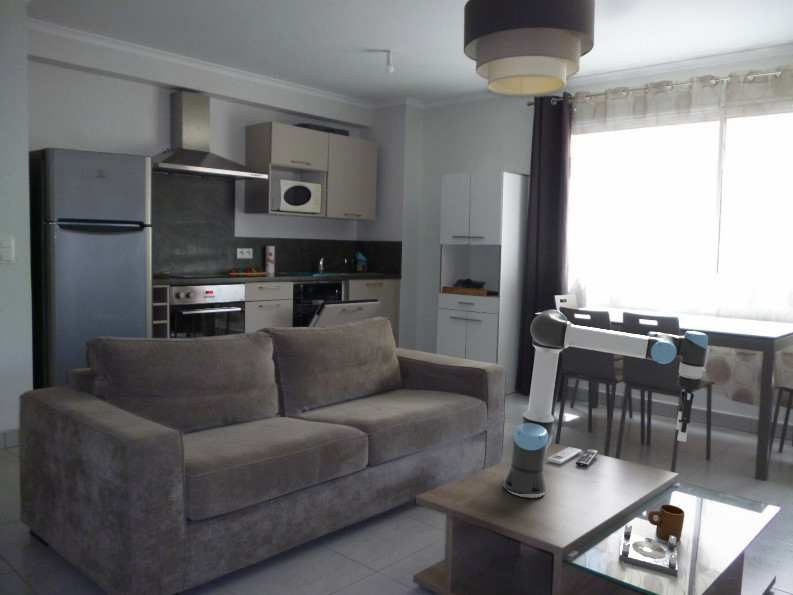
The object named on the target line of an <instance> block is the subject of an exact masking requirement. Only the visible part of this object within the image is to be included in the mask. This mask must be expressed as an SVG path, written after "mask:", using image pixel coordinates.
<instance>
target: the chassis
mask: <svg viewBox="0 0 793 595" xmlns="http://www.w3.org/2000/svg"><path fill="white" fill-rule="evenodd" d="M632 530H633V526H632V525H631V524H627V523H626V524H625V526H624V531H622V535H621V539H620V540H621V542H620V547H619V548H620V549H619V557H618V561H619V560H621V561H624V562H623V563H625V562H626V564H629V565H633V566H636V567H641V568H644V569H647V570H651V571H656V572H659V573H663V574H666V575H669V576H674V577H677V576H678V568H679V566H678V546H677V545H676V537H675V536H672V535H670V536H669V541H667V542H665V541H662V540H658V539H654V538H649V537H645V536H641V535H637V534H635V533H634V534H633V533H632ZM621 561H620V562H621Z"/></svg>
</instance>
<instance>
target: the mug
mask: <svg viewBox="0 0 793 595" xmlns="http://www.w3.org/2000/svg"><path fill="white" fill-rule="evenodd" d="M654 516H657V519H654ZM647 519H648V522H649V523H650V525H652V526H656V528H655V534H656V536H657V537H659V539H662V540H664V541H667V542H669V536H670V535H672V536H675V537H676V542H680V540H681V538H682V533H683V532H682V531H683V526H684V521H685V511H684V510H683V509H682V508H680V507H678V506H675V505H672V504H661V505H660V506H659V510H657V509H653V510H650V512H648V514H647Z"/></svg>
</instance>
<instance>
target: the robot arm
mask: <svg viewBox="0 0 793 595" xmlns="http://www.w3.org/2000/svg"><path fill="white" fill-rule="evenodd" d="M529 330H530V335H531V337H532V343H531V344H532V346H533V347H534V349H535V351H534V359H533V360H534V361H533V368H532V376H531V384H530V392H529V399H528V408H527V410H526V411H525V412H523V413H522V423H521V424H519V425H517V426H516V427H515V430H514V433H513V443H512V444H513V445H512V450H511V451H512V452H511V461H510V466H509V469H508V470H507V472H506V475H505V477H504V479H503V485H502V487H503V486H504V487H503V489H504V488H505V489H506V490H508V491H511V492H514V493H518V494H540V493H543V492H545V493H546V491H545V490H547V487H546V481H545V476H544V469H545V468H544V467H545V461H546V460H545V457H546V452H547V451H548V448H549V447H550V445H551V443H552V442H553V441H554V438H555V437H554V436H555V435H554V434H555V432H554V431H555V430H554V425H555V418H554V416H553V415H552V409H553V401H554V400H553V399H554V394H555V392H554V391H555V388H556V384H555V383H556V378H557V371H558V365H559V364H558V363H559V362H558V361H559V357H560V352H562V351H564V349H567V348H569V347H571V348H572V347H573V348H579V349H584V350H591V351H597V352H603V353H610V354H616V355H621V356H627V357H634V358H639V359H645V360H650V361H655V362H656V363H658V364H662V365H666V364H669V363H671V362H672V361H674V359H675V358H680V361H679V368H678V374H679V375H678V376H677V380H676V385H677V386H678V387H680V388H682V390H680V398H679V399H680V400H679V405H678V414H677V418H676V419H677V420H676V423H675V424H676V425H675V430H678V432H677V433H678V434H677V440H676V441H679V442H685V443H686V442H687V437H688V433H689V431H688V430H689V426H690V425H689V424H690V423H691V415H692V412H691V411H692V406H693V400H694V399H695V394H694V392H693V391H694V390H695V391H698V390H700V389H701V387H702V377H703V372H706V369H705V362H706V356H707V351H708V344H709V336H708V334H706V333H704V332H701V331H696V330H693V331H692V330H685V333H684V335H678V334H677V335H676V334H671V333H664V332H659V331H657V332H656V331H649V332H648V333H647V335H641V334H635V333H628V332H622V331H615V330H608V329H602V328H597V327H588V326H582V325H577V324H576V325H575V324H573V323H572V322H571V321H569V320H568V318H567V317H566V315H565V314H563V313H562V312H561V311H559V310H556V309H546V310H544V311H541V313H539V315H537V316H535V318H534V319H532V322H531V324H530V329H529ZM505 489H504V490H505ZM506 490H505V491H506Z"/></svg>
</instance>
